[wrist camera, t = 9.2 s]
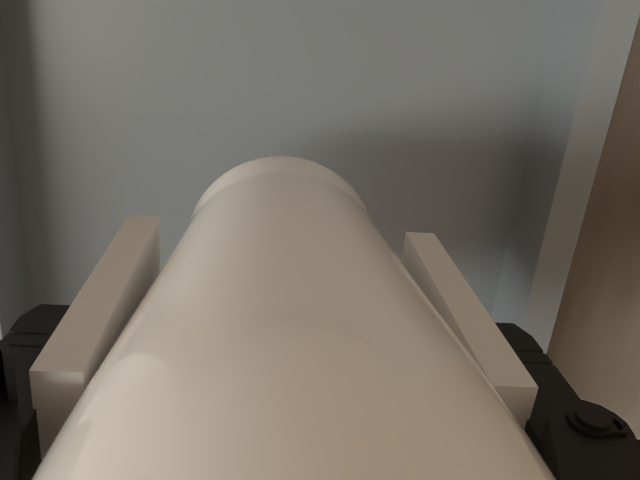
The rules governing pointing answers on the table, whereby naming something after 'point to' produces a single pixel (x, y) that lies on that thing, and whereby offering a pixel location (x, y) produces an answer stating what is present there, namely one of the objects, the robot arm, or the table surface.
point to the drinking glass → (288, 356)
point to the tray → (309, 126)
